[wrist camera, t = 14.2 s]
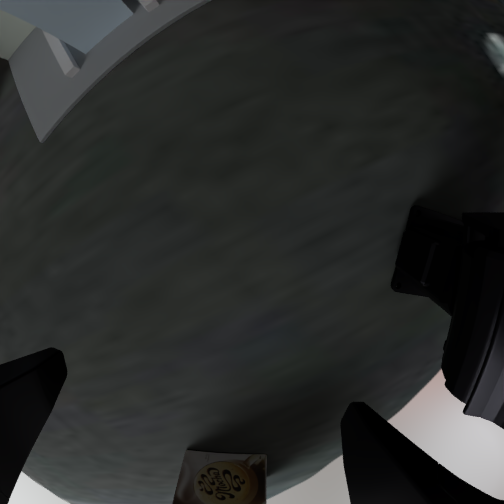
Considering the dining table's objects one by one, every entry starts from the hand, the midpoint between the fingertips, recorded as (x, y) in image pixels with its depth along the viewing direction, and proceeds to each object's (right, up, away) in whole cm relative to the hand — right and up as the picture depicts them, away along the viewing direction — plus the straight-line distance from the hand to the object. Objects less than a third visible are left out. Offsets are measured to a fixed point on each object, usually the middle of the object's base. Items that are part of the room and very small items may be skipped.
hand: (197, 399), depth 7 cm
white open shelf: (-12, +25, +8) cm, 29 cm away
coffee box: (-1, -21, +19) cm, 28 cm away
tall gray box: (-11, +24, +7) cm, 27 cm away
